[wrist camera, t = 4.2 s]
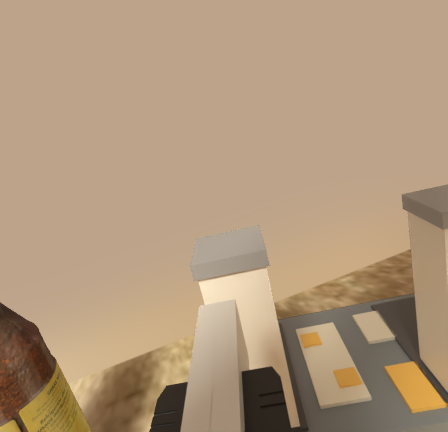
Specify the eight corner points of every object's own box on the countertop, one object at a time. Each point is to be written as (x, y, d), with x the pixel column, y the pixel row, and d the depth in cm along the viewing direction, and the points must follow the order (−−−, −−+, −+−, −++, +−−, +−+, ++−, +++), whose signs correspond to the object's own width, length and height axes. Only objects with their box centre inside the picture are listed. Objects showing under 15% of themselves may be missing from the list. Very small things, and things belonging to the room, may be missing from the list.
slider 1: (291, 379, 27) (259, 225, 23) (303, 428, 22) (266, 249, 19) (236, 388, 27) (196, 238, 24) (238, 439, 23) (189, 265, 19)
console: (418, 309, 35) (416, 288, 34) (538, 431, 21) (539, 400, 21) (200, 351, 36) (194, 331, 36) (184, 488, 23) (175, 461, 22)
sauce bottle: (96, 446, 28) (-2, 221, 23) (128, 502, 23) (12, 231, 18) (8, 514, 24) (-135, 263, 19) (23, 597, 19) (-163, 291, 14)
